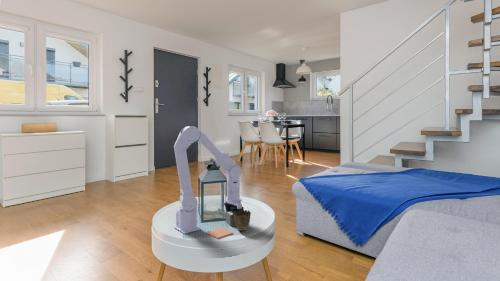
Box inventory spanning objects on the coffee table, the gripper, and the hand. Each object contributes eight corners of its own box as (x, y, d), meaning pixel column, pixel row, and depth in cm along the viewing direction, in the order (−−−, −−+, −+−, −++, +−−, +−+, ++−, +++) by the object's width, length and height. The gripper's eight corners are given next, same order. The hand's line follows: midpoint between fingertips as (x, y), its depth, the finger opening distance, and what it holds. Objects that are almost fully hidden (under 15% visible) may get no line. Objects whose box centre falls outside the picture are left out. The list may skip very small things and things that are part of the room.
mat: (206, 233, 117) (206, 231, 117) (222, 228, 122) (222, 227, 122) (217, 239, 111) (217, 237, 111) (233, 233, 116) (233, 232, 116)
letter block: (226, 222, 129) (226, 211, 129) (236, 221, 131) (236, 210, 131) (230, 226, 124) (230, 214, 124) (240, 224, 127) (240, 213, 126)
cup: (239, 235, 114) (239, 215, 114) (229, 229, 120) (229, 211, 120) (254, 231, 119) (254, 212, 118) (244, 225, 125) (244, 208, 124)
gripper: (248, 193, 122) (248, 223, 123) (235, 186, 135) (235, 214, 136) (233, 195, 119) (233, 226, 120) (221, 187, 132) (221, 216, 133)
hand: (233, 220), depth 128 cm, fingers open, 6 cm apart
